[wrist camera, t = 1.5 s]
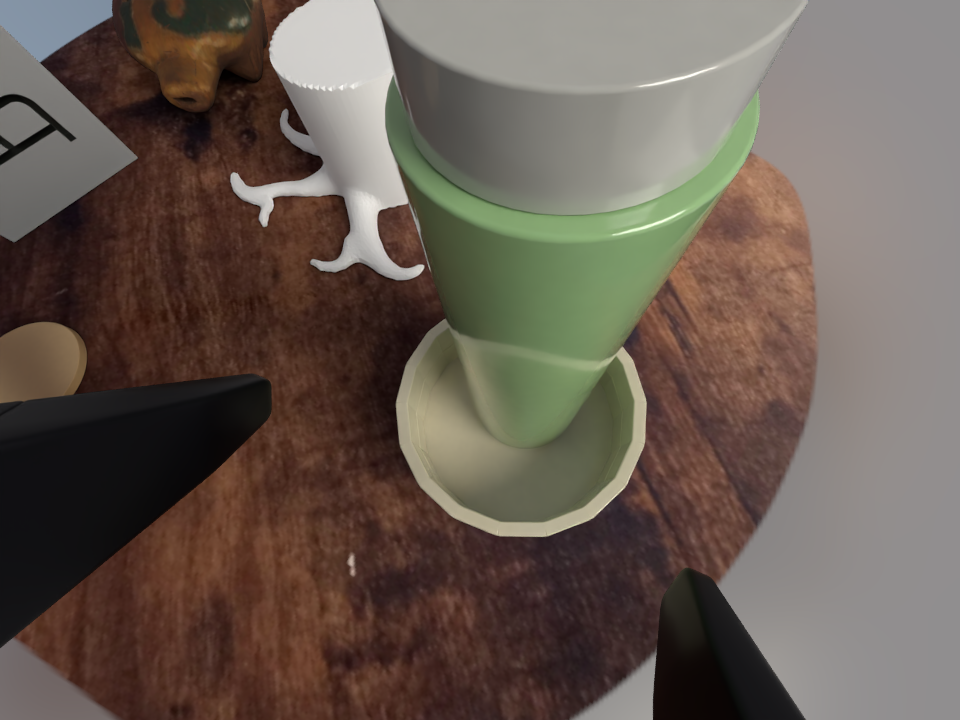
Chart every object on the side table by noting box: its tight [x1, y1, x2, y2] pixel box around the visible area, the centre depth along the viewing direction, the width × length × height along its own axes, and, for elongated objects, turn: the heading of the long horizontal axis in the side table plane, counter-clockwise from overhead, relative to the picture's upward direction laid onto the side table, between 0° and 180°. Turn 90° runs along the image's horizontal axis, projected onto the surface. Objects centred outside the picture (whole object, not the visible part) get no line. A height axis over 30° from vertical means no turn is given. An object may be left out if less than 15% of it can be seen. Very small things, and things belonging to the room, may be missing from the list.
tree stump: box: [230, 0, 425, 280], centre depth 24 cm, size 20×19×8 cm
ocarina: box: [112, 0, 268, 112], centre depth 30 cm, size 10×15×8 cm, turn 10°
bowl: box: [396, 318, 646, 537], centre depth 19 cm, size 10×10×5 cm
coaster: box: [0, 322, 87, 403], centre depth 24 cm, size 7×7×1 cm
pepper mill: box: [374, 0, 809, 449], centre depth 12 cm, size 5×5×17 cm
